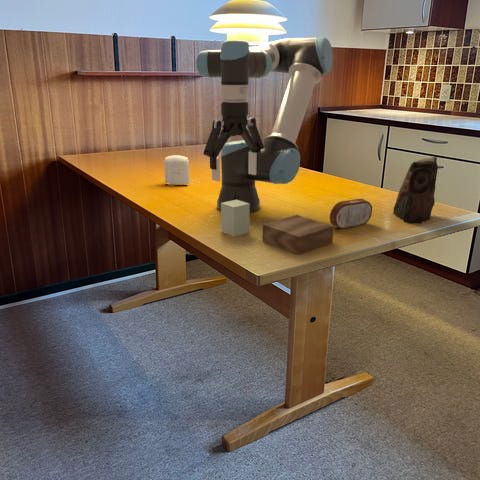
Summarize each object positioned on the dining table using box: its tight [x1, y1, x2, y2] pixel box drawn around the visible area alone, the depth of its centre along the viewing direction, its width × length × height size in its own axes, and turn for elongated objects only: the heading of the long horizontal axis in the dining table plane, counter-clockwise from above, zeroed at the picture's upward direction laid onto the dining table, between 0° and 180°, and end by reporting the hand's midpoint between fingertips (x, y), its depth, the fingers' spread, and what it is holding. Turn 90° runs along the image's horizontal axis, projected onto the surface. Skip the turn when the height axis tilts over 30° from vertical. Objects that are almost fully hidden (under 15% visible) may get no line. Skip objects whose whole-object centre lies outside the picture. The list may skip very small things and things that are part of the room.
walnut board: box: [262, 214, 335, 255], centre depth 138 cm, size 14×14×5 cm
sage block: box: [220, 200, 250, 237], centre depth 145 cm, size 6×6×9 cm
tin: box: [329, 198, 373, 230], centre depth 151 cm, size 15×3×8 cm, turn 118°
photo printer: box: [163, 154, 190, 185], centre depth 201 cm, size 10×4×12 cm, turn 84°
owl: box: [392, 156, 439, 225], centre depth 156 cm, size 13×13×20 cm
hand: (234, 177), depth 141 cm, fingers open, 13 cm apart
